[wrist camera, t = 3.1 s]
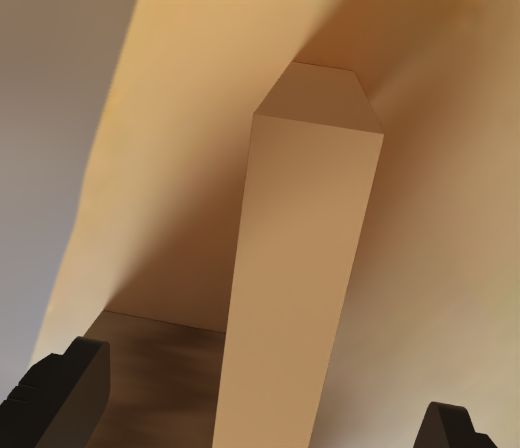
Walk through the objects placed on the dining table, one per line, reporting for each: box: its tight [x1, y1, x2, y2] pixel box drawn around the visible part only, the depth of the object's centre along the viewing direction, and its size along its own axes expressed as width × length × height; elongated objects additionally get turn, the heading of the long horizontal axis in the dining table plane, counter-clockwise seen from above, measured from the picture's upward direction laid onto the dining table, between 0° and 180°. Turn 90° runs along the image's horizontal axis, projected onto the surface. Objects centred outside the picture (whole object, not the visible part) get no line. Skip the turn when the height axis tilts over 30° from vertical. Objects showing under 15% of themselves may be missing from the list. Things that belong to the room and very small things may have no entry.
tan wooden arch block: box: [212, 62, 384, 448], centre depth 19 cm, size 3×13×13 cm, turn 173°
